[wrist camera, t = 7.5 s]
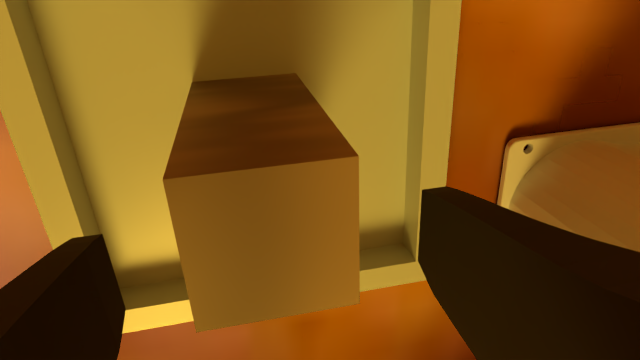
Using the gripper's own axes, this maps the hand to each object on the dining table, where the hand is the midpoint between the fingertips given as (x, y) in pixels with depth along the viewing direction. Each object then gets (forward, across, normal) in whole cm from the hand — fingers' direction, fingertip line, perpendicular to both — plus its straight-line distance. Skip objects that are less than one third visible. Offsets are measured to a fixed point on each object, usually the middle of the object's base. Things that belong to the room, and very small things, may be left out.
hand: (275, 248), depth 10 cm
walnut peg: (+9, 0, 0) cm, 9 cm away
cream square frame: (+9, 0, 0) cm, 9 cm away
